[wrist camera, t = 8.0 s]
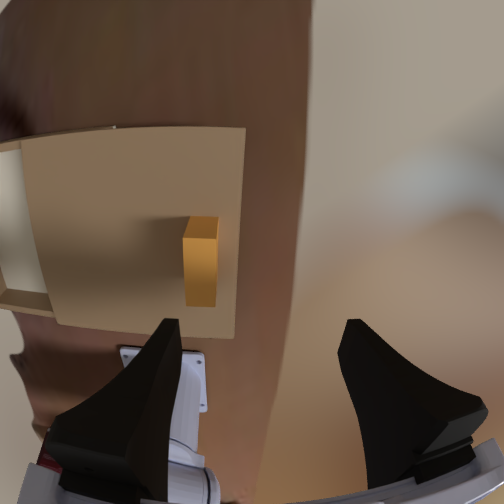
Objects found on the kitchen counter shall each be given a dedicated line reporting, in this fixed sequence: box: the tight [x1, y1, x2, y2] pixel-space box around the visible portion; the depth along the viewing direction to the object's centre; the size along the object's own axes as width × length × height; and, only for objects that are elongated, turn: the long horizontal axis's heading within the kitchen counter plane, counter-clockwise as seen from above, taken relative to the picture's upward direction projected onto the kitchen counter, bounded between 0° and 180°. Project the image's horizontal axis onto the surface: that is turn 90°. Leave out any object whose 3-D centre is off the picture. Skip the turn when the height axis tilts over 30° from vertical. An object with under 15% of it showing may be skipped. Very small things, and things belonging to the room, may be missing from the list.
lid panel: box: [21, 126, 246, 339], centre depth 17 cm, size 14×14×4 cm
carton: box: [0, 126, 116, 318], centre depth 19 cm, size 14×14×3 cm
